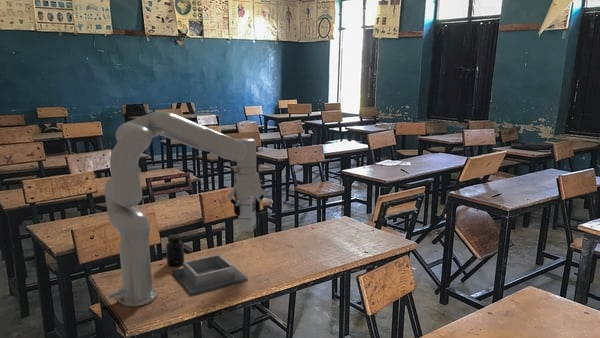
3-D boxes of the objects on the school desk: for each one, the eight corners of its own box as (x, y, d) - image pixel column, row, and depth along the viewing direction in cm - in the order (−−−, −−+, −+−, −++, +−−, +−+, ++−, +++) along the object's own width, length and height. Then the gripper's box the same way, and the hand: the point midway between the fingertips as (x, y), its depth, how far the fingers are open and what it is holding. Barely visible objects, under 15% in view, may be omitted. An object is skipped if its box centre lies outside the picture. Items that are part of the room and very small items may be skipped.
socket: (191, 295, 158) (190, 282, 157) (172, 273, 176) (171, 261, 175) (247, 280, 169) (247, 268, 168) (224, 261, 187) (223, 249, 186)
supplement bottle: (166, 262, 186) (164, 234, 184) (182, 259, 189) (181, 232, 187) (168, 268, 180) (166, 240, 178) (185, 265, 183) (184, 237, 180)
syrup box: (252, 231, 177) (252, 195, 174) (237, 230, 178) (237, 194, 176) (256, 227, 183) (256, 192, 180) (242, 226, 184) (242, 191, 181)
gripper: (230, 174, 168) (230, 219, 171) (270, 169, 177) (270, 212, 181) (222, 170, 174) (223, 214, 178) (261, 166, 184) (262, 208, 187)
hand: (247, 213), depth 179 cm, fingers closed on syrup box, 8 cm apart
